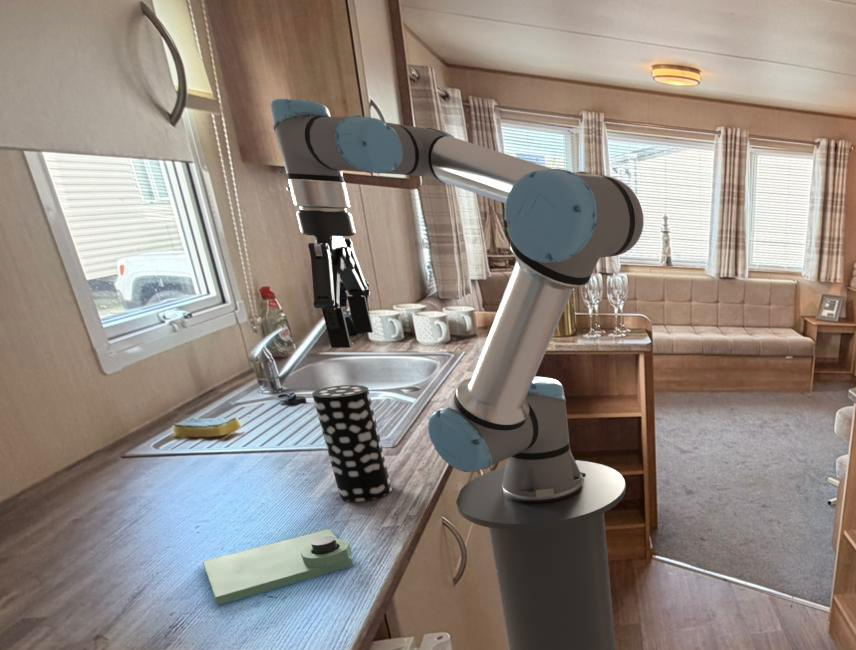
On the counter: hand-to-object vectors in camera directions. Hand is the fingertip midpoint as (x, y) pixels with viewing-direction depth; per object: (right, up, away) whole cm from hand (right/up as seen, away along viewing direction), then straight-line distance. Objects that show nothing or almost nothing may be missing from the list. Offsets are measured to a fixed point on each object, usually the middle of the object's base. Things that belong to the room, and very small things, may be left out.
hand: (353, 339), depth 113 cm
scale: (0, -39, -17) cm, 42 cm away
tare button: (+7, -36, -16) cm, 40 cm away
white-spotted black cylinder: (-4, -28, +9) cm, 29 cm away
